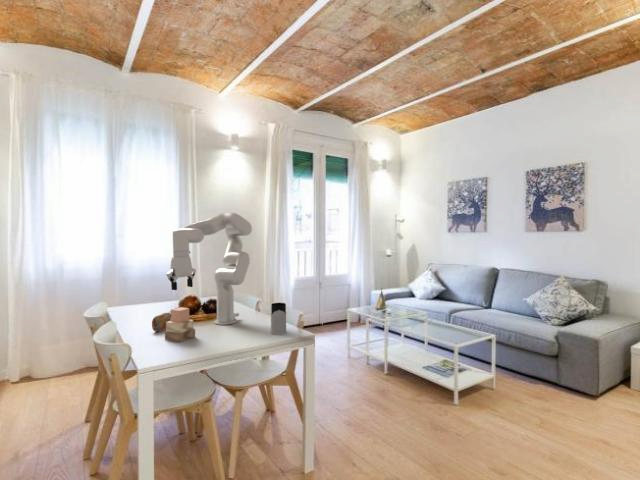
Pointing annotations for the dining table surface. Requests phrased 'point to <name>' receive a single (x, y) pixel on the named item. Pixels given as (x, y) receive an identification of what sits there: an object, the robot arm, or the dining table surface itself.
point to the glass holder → (278, 319)
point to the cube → (180, 315)
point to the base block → (179, 336)
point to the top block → (179, 326)
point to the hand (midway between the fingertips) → (182, 288)
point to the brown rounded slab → (160, 322)
